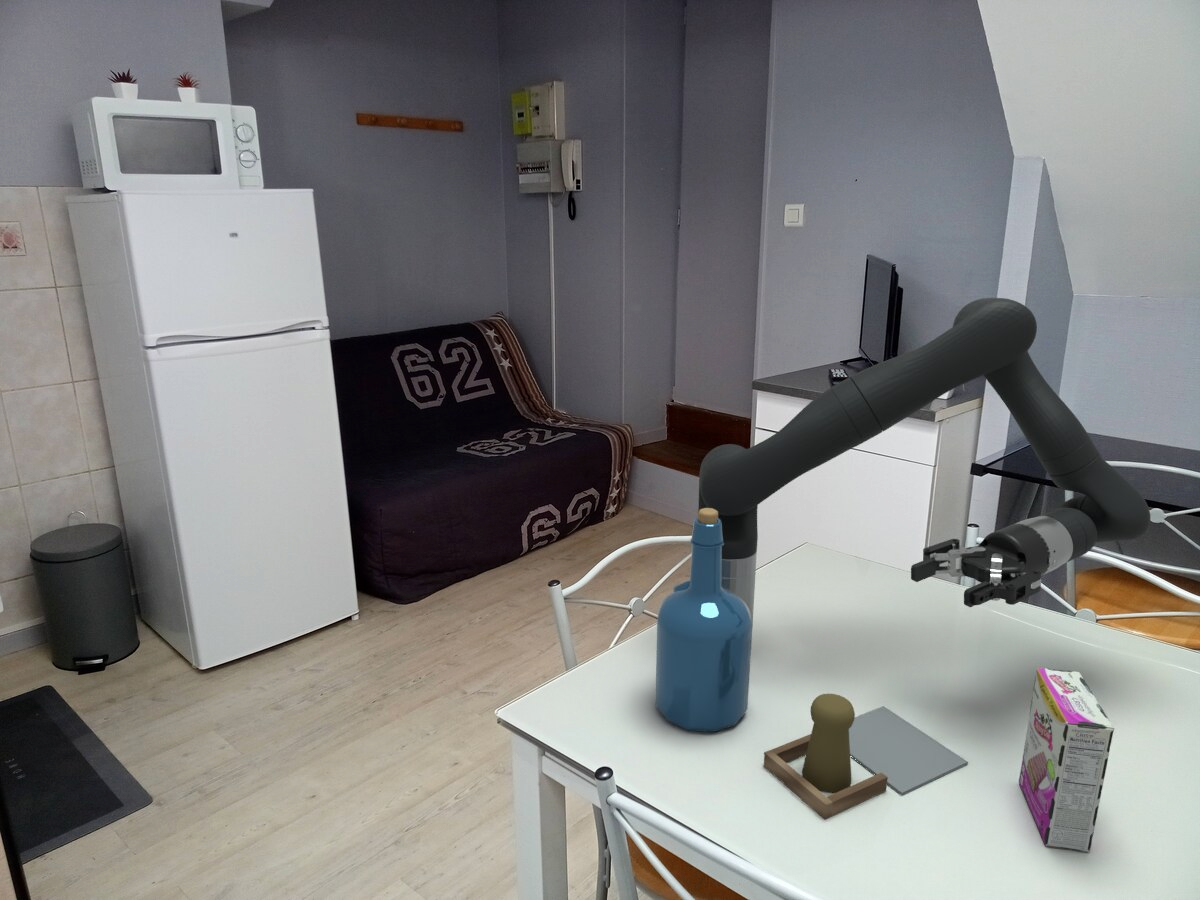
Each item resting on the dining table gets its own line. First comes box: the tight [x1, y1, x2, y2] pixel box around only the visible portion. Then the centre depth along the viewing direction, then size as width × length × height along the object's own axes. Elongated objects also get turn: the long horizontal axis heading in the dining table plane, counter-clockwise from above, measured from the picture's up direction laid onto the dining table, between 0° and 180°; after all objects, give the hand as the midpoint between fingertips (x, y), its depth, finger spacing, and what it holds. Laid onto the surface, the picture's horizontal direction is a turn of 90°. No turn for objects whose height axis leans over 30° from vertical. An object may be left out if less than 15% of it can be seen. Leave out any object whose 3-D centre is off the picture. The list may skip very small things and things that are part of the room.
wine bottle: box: [655, 508, 753, 733], centre depth 113 cm, size 14×13×30 cm
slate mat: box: [849, 705, 969, 796], centre depth 109 cm, size 14×12×1 cm
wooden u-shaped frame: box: [763, 733, 888, 820], centre depth 103 cm, size 11×10×2 cm
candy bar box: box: [1018, 667, 1115, 853], centre depth 94 cm, size 11×5×16 cm, turn 168°
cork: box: [801, 693, 856, 794], centre depth 102 cm, size 6×6×11 cm
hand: (938, 586), depth 105 cm, fingers open, 8 cm apart
